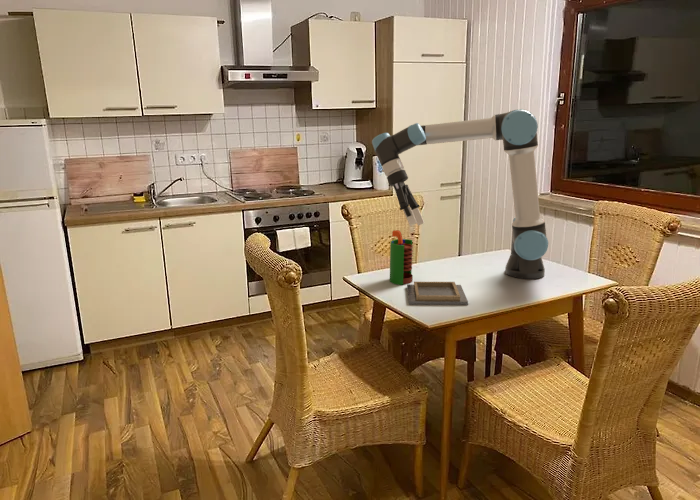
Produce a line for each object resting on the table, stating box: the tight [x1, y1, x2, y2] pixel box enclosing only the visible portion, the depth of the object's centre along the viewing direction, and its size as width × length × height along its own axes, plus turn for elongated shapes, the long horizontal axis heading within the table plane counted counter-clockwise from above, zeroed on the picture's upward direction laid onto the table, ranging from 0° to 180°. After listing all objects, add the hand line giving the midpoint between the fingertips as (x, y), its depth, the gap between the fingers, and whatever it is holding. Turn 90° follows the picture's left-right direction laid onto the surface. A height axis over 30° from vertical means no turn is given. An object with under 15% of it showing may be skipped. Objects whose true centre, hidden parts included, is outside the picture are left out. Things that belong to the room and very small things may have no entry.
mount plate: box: [406, 281, 469, 306], centre depth 189 cm, size 20×18×3 cm
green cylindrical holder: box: [389, 229, 414, 286], centre depth 204 cm, size 10×9×20 cm
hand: (417, 224), depth 198 cm, fingers open, 13 cm apart
